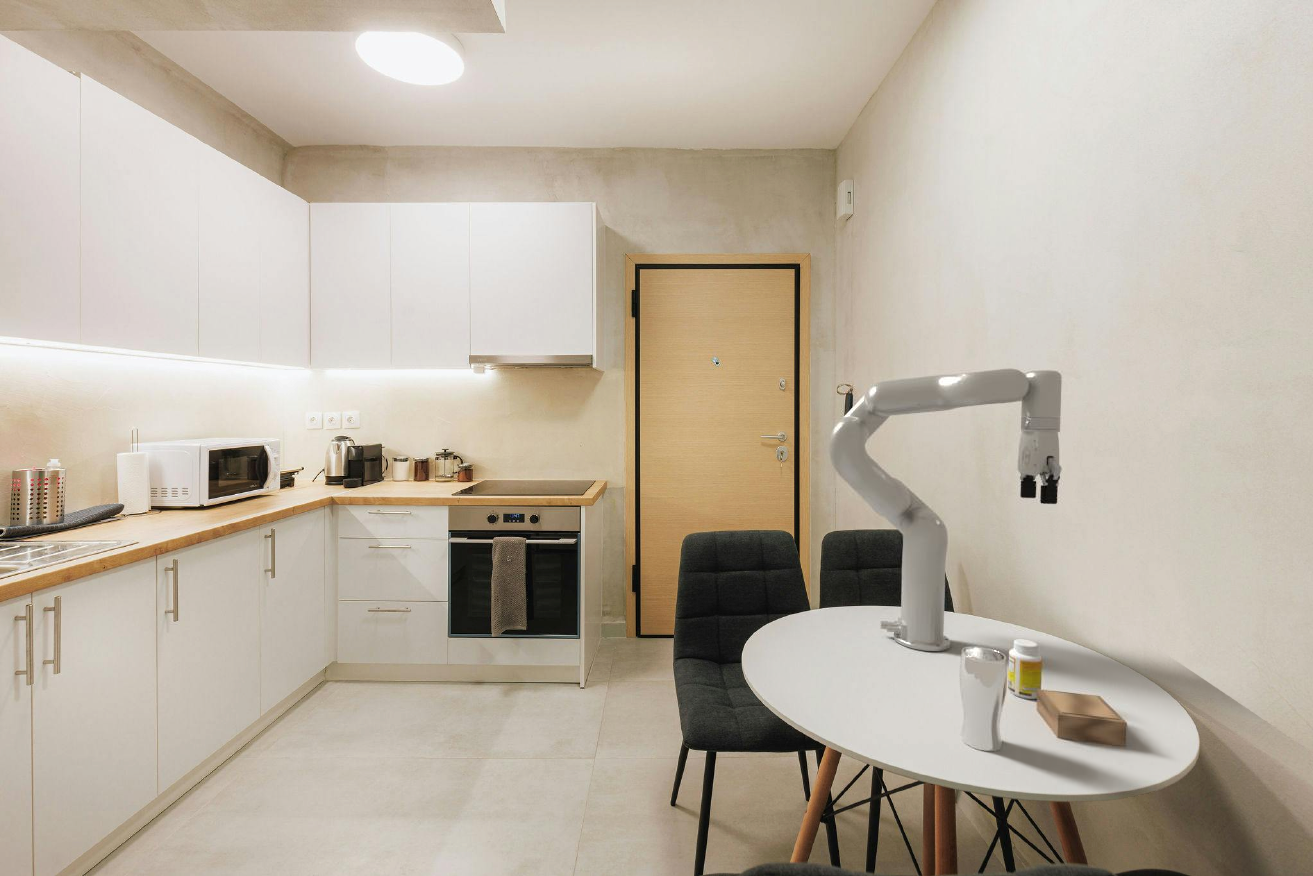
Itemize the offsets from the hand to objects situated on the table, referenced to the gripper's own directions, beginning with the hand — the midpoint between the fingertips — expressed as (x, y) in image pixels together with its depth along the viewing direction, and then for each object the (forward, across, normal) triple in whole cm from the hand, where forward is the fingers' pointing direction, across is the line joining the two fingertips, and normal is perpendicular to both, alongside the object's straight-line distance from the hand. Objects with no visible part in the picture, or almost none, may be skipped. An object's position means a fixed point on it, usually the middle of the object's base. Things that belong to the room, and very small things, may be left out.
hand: (1038, 500), depth 138 cm
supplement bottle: (+36, +22, -11) cm, 43 cm away
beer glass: (+36, +42, -26) cm, 61 cm away
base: (+36, +34, -7) cm, 50 cm away
